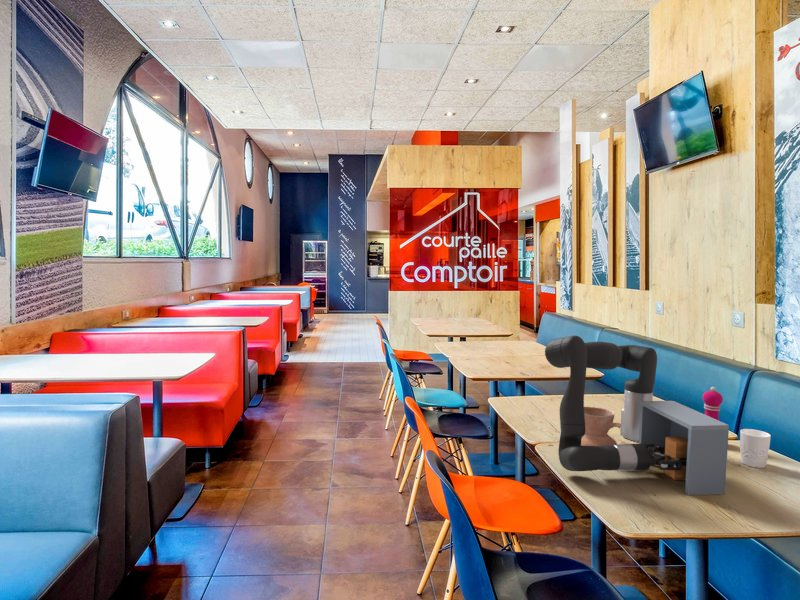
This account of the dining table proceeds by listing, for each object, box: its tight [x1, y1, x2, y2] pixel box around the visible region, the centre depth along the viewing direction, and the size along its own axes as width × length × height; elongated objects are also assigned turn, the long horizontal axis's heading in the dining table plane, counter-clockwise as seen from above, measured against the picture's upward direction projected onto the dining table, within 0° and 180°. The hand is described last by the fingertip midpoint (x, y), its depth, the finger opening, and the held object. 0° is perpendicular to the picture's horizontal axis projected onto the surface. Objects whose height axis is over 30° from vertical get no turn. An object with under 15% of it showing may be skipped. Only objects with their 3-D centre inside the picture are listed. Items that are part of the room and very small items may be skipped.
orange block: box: [663, 437, 688, 481], centre depth 151 cm, size 5×5×11 cm
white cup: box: [739, 428, 772, 469], centre depth 161 cm, size 8×8×10 cm
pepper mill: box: [702, 386, 724, 421], centre depth 179 cm, size 7×7×20 cm
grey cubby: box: [638, 400, 730, 496], centre depth 151 cm, size 11×24×19 cm, turn 5°
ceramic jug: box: [581, 406, 622, 446], centre depth 169 cm, size 18×14×14 cm
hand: (681, 455), depth 151 cm, fingers open, 8 cm apart
